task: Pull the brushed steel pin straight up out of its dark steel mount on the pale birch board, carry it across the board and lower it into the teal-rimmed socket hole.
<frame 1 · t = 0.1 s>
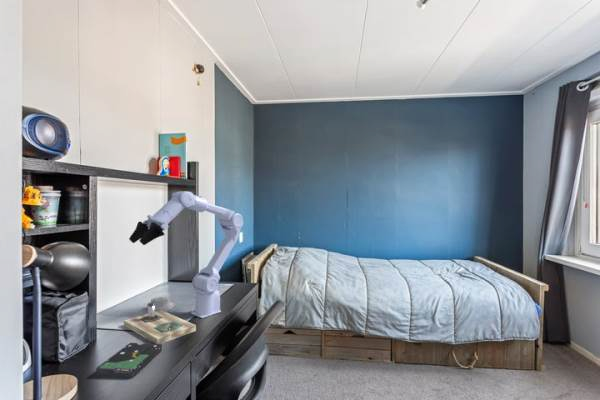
hand: (136, 242, 103), 32 cm above the table, tool tilted 50°, fingers open, 7 cm apart
disk drive: (131, 365, 86), on the table
mechanical component: (160, 309, 130), on the table
steel pin: (151, 324, 113), resting in dock board
dock board: (159, 328, 109), on the table
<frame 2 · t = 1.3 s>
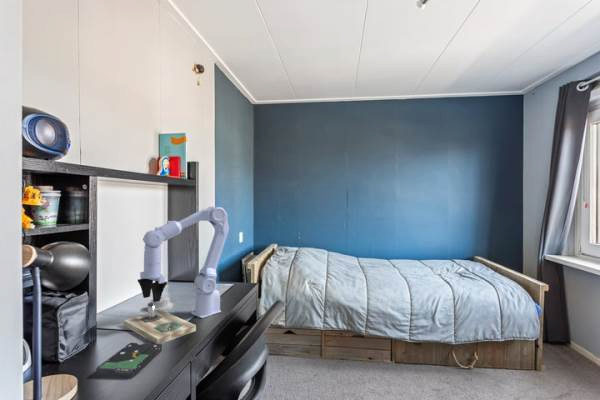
hand: (151, 299, 113), 9 cm above the table, tool pointing down, fingers open, 7 cm apart
nothing on the table moved.
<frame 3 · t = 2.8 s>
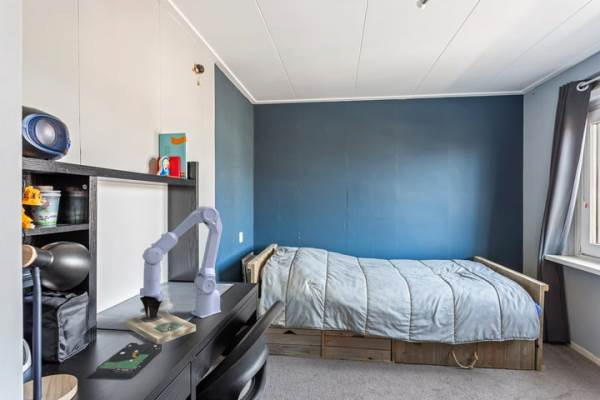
hand: (151, 316, 113), 3 cm above the table, tool pointing down, fingers closed on steel pin, 2 cm apart
steel pin: (151, 324, 113), resting in dock board, touching gripper
everything else where it was.
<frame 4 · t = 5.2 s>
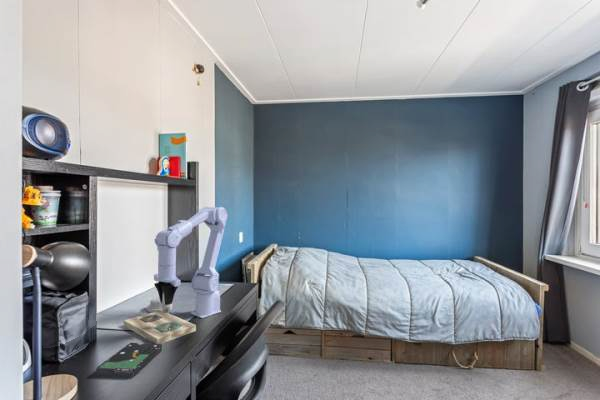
hand: (166, 303, 107), 10 cm above the table, tool pointing down, fingers closed on steel pin, 2 cm apart
steel pin: (165, 311, 107), point 7 cm above the table, touching gripper
everything else where it was.
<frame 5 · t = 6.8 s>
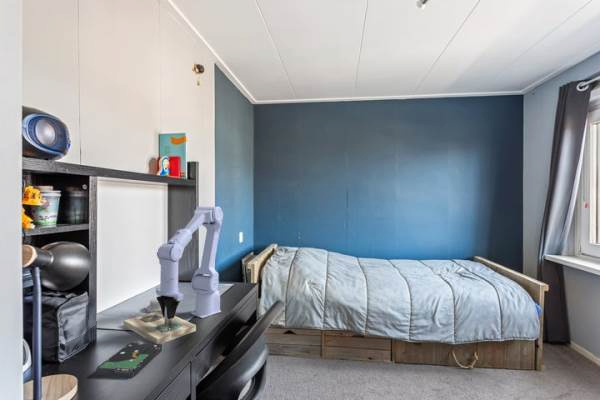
hand: (168, 317, 106), 5 cm above the table, tool pointing down, fingers closed on steel pin, 2 cm apart
steel pin: (168, 325, 106), point 2 cm above the table, touching gripper
when the fingers open (3 cm above the table, at t = 8.0 s): steel pin stays where it is, resting in dock board.
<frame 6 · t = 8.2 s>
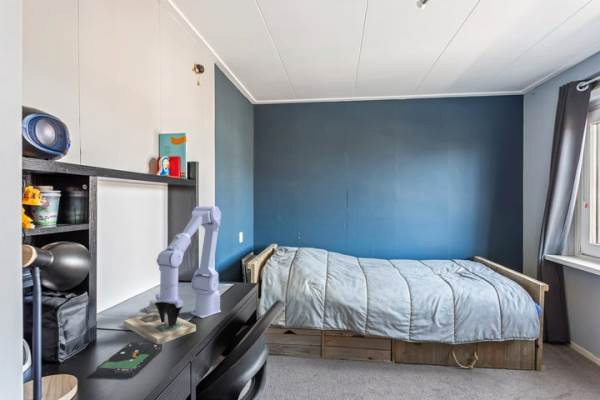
hand: (168, 323, 106), 3 cm above the table, tool pointing down, fingers open, 4 cm apart
steel pin: (168, 332, 106), resting in dock board
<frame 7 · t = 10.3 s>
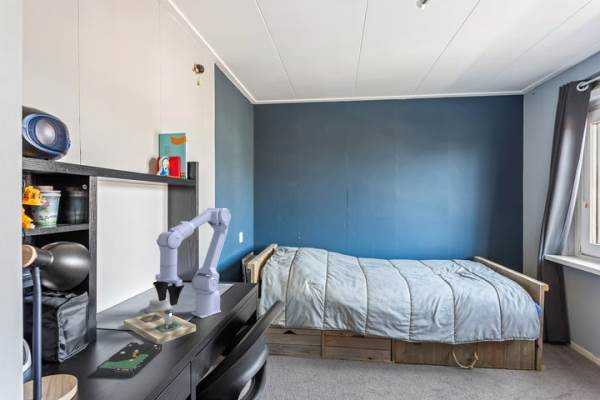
hand: (168, 302, 109), 9 cm above the table, tool pointing down, fingers open, 7 cm apart
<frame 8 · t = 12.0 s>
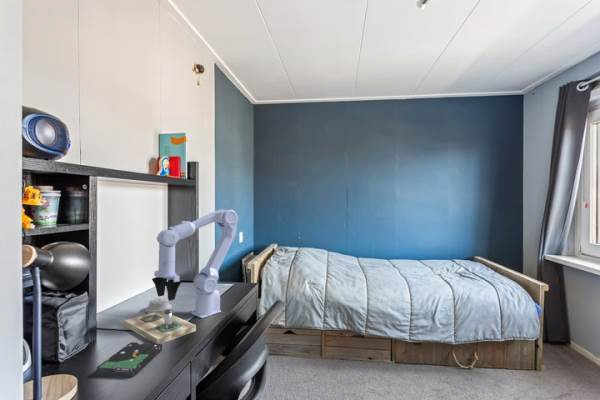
hand: (166, 297, 115), 9 cm above the table, tool pointing down, fingers open, 7 cm apart
at the end: steel pin 0.1 cm from the target spot on the dock board, point 0.0 cm above the dock board's base; steel pin tilted 0°; the gripper is holding nothing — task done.
